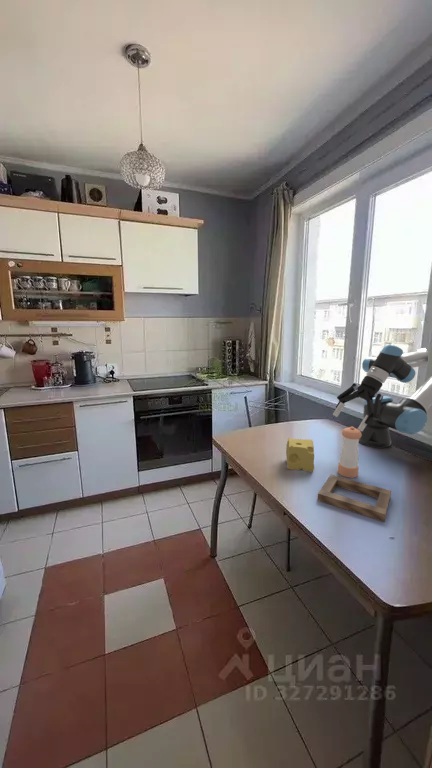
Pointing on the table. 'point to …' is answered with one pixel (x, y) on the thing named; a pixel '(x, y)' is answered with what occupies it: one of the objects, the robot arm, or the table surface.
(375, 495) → the rail frame
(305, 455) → the cheese
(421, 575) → the table surface
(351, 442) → the salt shaker
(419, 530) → the table surface
